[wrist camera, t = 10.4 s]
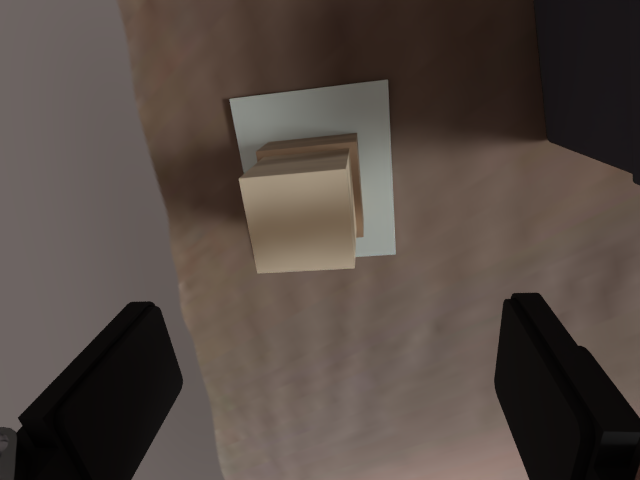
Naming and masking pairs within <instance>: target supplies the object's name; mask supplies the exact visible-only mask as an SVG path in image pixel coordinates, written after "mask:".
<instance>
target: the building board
mask: <svg viewBox="0 0 640 480" xmlns="http://www.w3.org/2000/svg"><path fill="white" fill-rule="evenodd" d="M229 101H230V106H231V111H232V116H233V121H234V126H235V131H236V136H237V142H238V147H239V152H240V157H241V162H242V167H243V172H244V174H245V173H246V172H247V171H248V170H249V169H250V168H252V167H253V166H254V165H255V164H256V163H257V157H256V151H257V150H258V149H260V148H261V147H263V146H264V145H265V144H267V143H268V142H274V141H283V140H293V139H303V138H312V137H322V136H331V135H341V134H351V133H357V138H358V151H359V164H360V177H361V190H362V203H363V216H364V237H359V238H356V252H355V257H360V256H377V255H394V254H396V249H395V226H394V204H393V181H392V159H391V136H390V114H389V91H388V79H387V80H379V81H371V82H363V83H355V84H346V85H338V86H330V87H322V88H314V89H305V90H297V91H289V92H281V93H273V94H264V95H256V96H248V97H240V98H232V99H229Z"/></svg>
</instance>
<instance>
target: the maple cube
mask: <svg viewBox="0 0 640 480" xmlns="http://www.w3.org/2000/svg"><path fill="white" fill-rule="evenodd" d="M239 183H240V188H241V193H242V198H243V203H244V208H245V213H246V218H247V223H248V228H249V233H250V238H251V243H252V248H253V253H254V258H255V263H256V268H257V273H275V272H294V271H312V270H331V269H349V268H355V252H356V231H357V230H356V218H355V206H354V195H353V183H352V171H351V159H350V149H339V150H329V151H319V152H309V153H298V154H288V155H278V156H268V157H263V158H262V159H261V160H260V161H258V162H257V163H256V164H255V165H254V166H253V167H252V168H250V169H249V170H248V171H247V172H246V173H245V174H243V175H242V176H241V177H240V178H239Z"/></svg>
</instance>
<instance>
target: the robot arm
mask: <svg viewBox="0 0 640 480" xmlns="http://www.w3.org/2000/svg"><path fill="white" fill-rule="evenodd" d="M182 384H183V379H182V374H181V371H180V368H179V365H178V362H177V359H176V356H175V353H174V349H173V346H172V343H171V340H170V337H169V334H168V331H167V328H166V325H165V322H164V318H163V315H162V312H161V310H160V308H159V307H157V306H155V304H154V303H153V302H130V303H129V304H127V305H126V307H124V309H123V310H122V311H121V312H120V313H119V314H118V315H117V316H116V317H115V318H114V319H113V320H112V321H111V322H110V323H109V324H108V325H107V326H106V327H105V328H104V330H102V331H101V332H100V333H99V334H98V336H97V337H95V339H94V340H93V341H92V342H91V343H90V344H89V345H88V346H87V347H86V348H85V349H84V350H83V351H82V352H81V353H80V354H79V355H78V356H77V357H76V358H75V359H74V360H73V361H72V362H71V363H70V365H68V367H67V368H66V369H65V370H64V371H63V372H62V373H61V374H60V375H59V376H58V377H57V378H56V379H55V380H54V381H53V382H52V383H51V384H50V385H49V386H48V387H47V388H46V389H45V390H44V391H43V392H42V394H40V396H39V397H38V398H37V399H36V400H35V401H34V402H33V403H32V404H31V405H30V406H29V407H28V408H27V409H26V410H25V411H24V412H23V413H22V414H21V415H20V416H19V417H18V419H19V420H20V422H21V424H22V427H21V428H20V429H19V430H18V432H17V433H16V432H15V431H14V430H12V429H11V428H6V427H0V480H131V479H132V477H133V476H134V474H135V472H136V470H137V468H138V466H139V465H140V463H141V461H142V459H143V458H144V456H145V454H146V452H147V450H148V449H149V447H150V445H151V443H152V441H153V439H154V438H155V436H156V434H157V432H158V430H159V429H160V427H161V425H162V423H163V422H164V420H165V418H166V416H167V414H168V413H169V411H170V409H171V407H172V405H173V404H174V402H175V400H176V398H177V396H178V395H179V393H180V391H181V389H182ZM494 384H495V390H496V394H497V397H498V399H499V402H500V405H501V407H502V410H503V412H504V415H505V417H506V420H507V423H508V425H509V428H510V430H511V433H512V436H513V438H514V441H515V443H516V446H517V449H518V451H519V454H520V456H521V459H522V461H523V464H524V467H525V469H526V472H527V474H528V477H529V480H640V418H639V416H638V415H637V414H636V413H635V411H634V410H633V409H632V407H631V406H630V405H629V403H628V402H627V401H626V399H625V398H624V397H623V395H622V394H621V393H620V391H619V390H618V389H617V387H616V386H615V385H614V383H613V382H612V381H611V380H610V378H609V377H608V376H607V374H606V373H605V372H604V370H603V369H602V368H601V366H600V365H599V364H598V362H597V361H596V360H595V358H594V357H593V356H592V354H591V353H590V352H589V351H588V350H587V349H586V348H585V347H582V346H578V345H577V344H576V342H575V341H574V340H573V338H572V337H571V336H570V334H569V333H568V332H567V330H566V329H565V327H564V326H563V325H562V323H561V322H560V321H559V319H558V318H557V317H556V315H555V314H554V312H553V311H552V310H551V308H550V307H549V306H548V304H547V303H546V302H545V300H544V299H543V297H542V296H541V295H540V294H539V293H514V294H512V296H511V299H505V300H504V303H503V310H502V319H501V327H500V336H499V344H498V353H497V361H496V370H495V378H494Z"/></svg>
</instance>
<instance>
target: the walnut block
mask: <svg viewBox="0 0 640 480" xmlns="http://www.w3.org/2000/svg"><path fill="white" fill-rule="evenodd" d="M339 149H350V159H351V171H352V183H353V195H354V206H355V218H356V230H357V231H356V238H359V237H364V216H363V203H362V190H361V177H360V164H359V151H358V138H357V133H351V134H341V135H331V136H322V137H312V138H303V139H293V140H283V141H274V142H268V143H267V144H265V145H264V146H263V147H261V148H260V149H258V150H257V151H256V157H257V162H258V161H260V160H261V159H262V158H263V157H268V156H278V155H288V154H298V153H309V152H319V151H329V150H339Z"/></svg>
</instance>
